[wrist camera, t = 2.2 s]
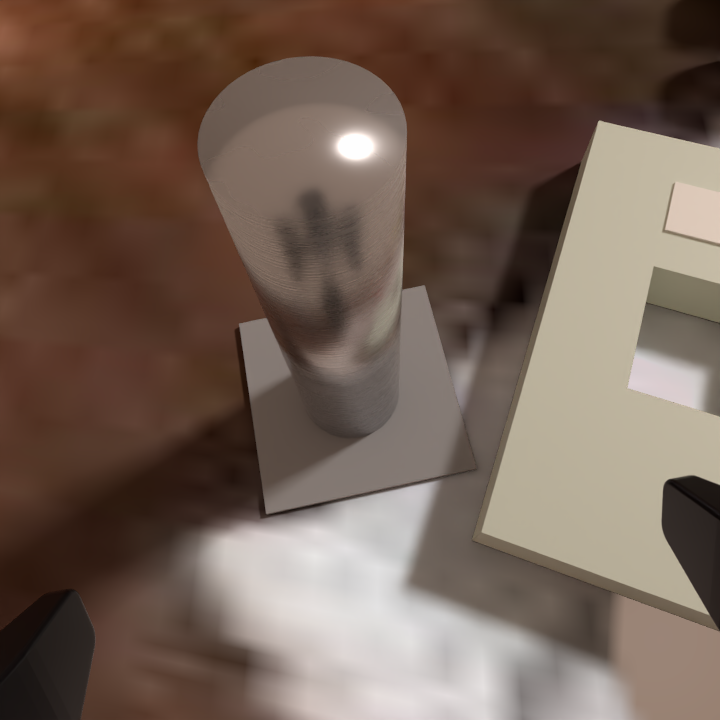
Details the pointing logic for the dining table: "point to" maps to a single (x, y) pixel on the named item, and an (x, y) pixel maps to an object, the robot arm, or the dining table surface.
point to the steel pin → (318, 225)
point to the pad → (363, 454)
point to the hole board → (612, 376)
